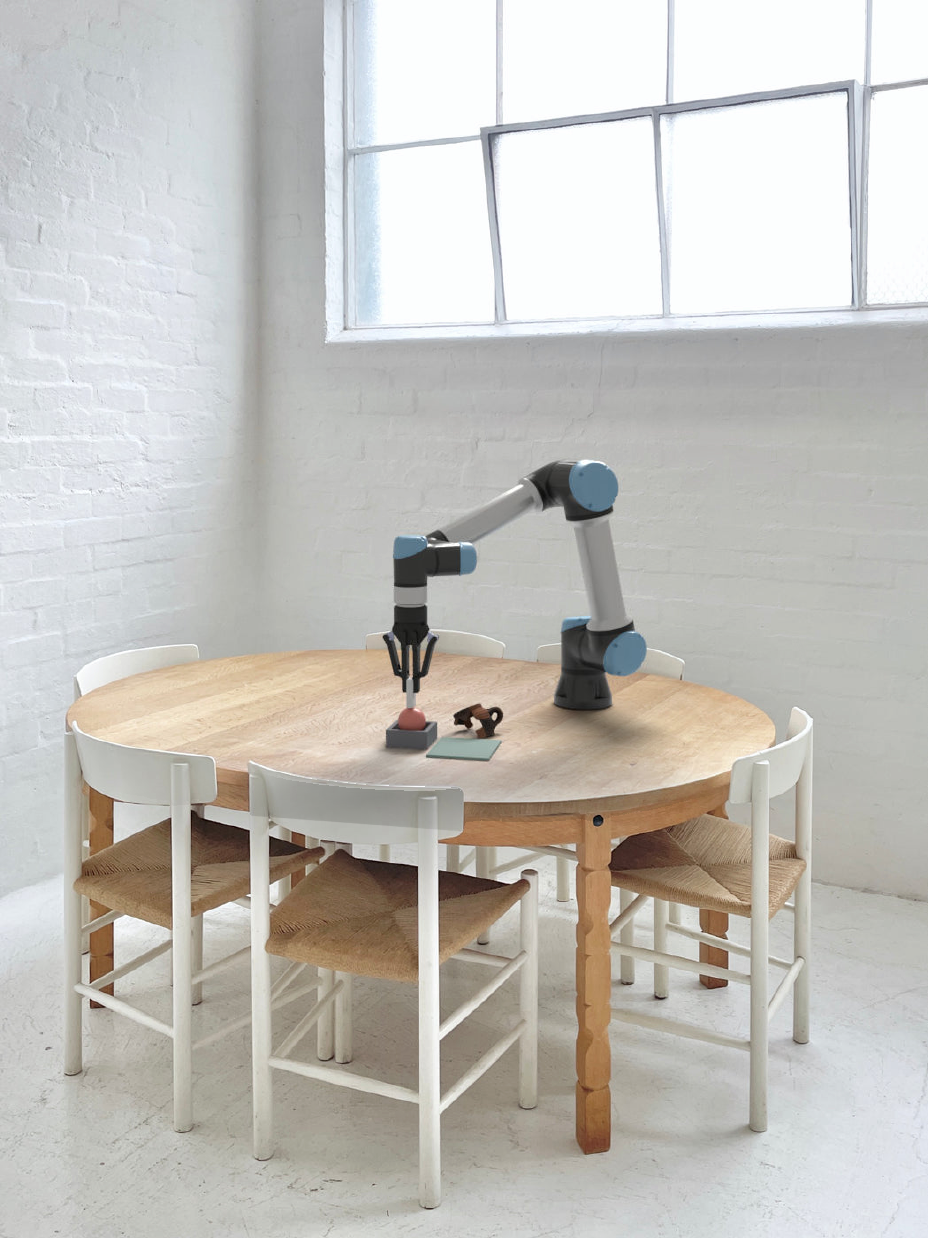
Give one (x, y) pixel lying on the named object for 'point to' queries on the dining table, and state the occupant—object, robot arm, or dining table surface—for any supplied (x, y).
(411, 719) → the pinkish red ball
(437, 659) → the dining table surface
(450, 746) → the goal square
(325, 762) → the dining table surface
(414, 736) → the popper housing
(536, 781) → the dining table surface
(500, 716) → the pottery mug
